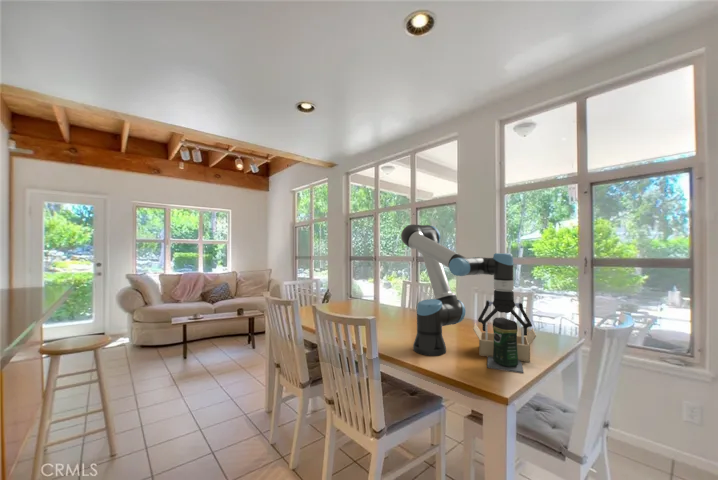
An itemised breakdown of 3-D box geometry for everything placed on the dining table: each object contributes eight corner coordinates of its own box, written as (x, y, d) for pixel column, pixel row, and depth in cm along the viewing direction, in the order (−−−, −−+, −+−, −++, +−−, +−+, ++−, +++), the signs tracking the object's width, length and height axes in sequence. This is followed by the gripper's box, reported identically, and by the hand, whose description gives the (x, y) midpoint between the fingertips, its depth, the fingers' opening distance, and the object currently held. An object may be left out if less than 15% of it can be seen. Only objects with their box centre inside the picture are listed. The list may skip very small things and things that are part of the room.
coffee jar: (521, 367, 122) (521, 320, 122) (503, 368, 121) (503, 321, 121) (506, 358, 131) (506, 315, 132) (489, 359, 130) (489, 316, 131)
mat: (487, 367, 123) (487, 366, 123) (487, 357, 135) (487, 356, 135) (523, 373, 118) (523, 371, 118) (520, 361, 129) (520, 360, 129)
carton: (473, 354, 138) (473, 329, 139) (475, 345, 152) (475, 322, 152) (537, 363, 128) (536, 336, 128) (533, 352, 142) (532, 327, 142)
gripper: (471, 289, 129) (471, 339, 128) (539, 293, 119) (540, 347, 118) (472, 287, 136) (473, 335, 135) (536, 290, 125) (537, 342, 125)
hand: (504, 341), depth 126 cm, fingers open, 13 cm apart
